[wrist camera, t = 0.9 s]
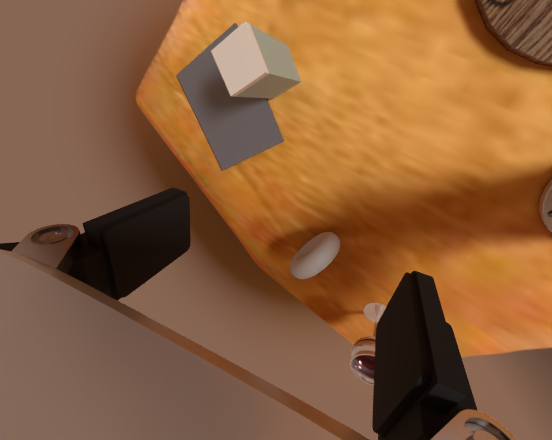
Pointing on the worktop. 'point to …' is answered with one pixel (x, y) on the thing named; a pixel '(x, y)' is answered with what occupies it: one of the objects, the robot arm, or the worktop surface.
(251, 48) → the sage block
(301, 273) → the donut
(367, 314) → the wineglass
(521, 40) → the trivet
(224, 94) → the charcoal mat
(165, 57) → the worktop surface
